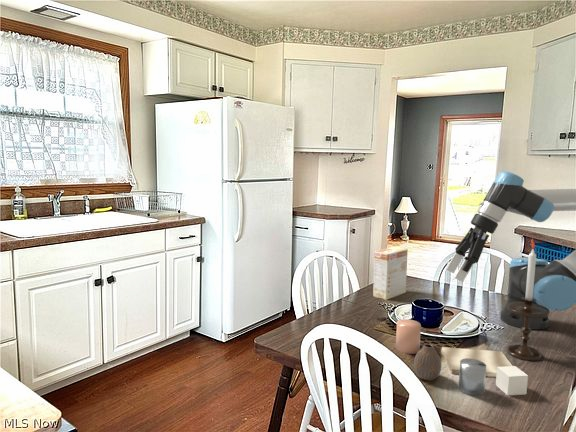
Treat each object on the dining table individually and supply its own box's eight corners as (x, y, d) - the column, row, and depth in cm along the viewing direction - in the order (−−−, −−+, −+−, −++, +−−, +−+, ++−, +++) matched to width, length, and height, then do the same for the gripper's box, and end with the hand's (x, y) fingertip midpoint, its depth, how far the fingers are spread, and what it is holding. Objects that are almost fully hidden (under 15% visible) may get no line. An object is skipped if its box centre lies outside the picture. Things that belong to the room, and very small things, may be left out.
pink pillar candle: (417, 344, 135) (419, 320, 134) (421, 354, 128) (422, 328, 127) (394, 343, 136) (395, 318, 135) (396, 352, 130) (398, 327, 128)
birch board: (501, 355, 128) (501, 351, 128) (518, 378, 115) (519, 374, 115) (441, 350, 131) (441, 347, 131) (451, 373, 117) (452, 369, 117)
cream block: (513, 384, 112) (515, 365, 112) (526, 394, 107) (528, 375, 107) (495, 385, 112) (497, 366, 111) (507, 395, 107) (509, 376, 106)
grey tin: (480, 385, 111) (482, 359, 111) (487, 397, 106) (489, 370, 105) (456, 383, 112) (457, 357, 111) (461, 395, 106) (463, 368, 106)
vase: (409, 371, 118) (411, 340, 117) (433, 370, 119) (435, 339, 118) (419, 384, 112) (420, 351, 110) (445, 383, 112) (447, 351, 111)
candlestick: (497, 345, 135) (506, 235, 130) (532, 346, 135) (542, 235, 130) (514, 362, 124) (524, 242, 119) (552, 363, 124) (564, 242, 119)
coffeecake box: (392, 289, 193) (394, 246, 190) (406, 292, 187) (408, 248, 185) (372, 296, 182) (373, 250, 180) (386, 300, 177) (388, 253, 175)
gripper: (467, 210, 151) (436, 263, 154) (487, 215, 126) (451, 277, 129) (487, 220, 150) (456, 273, 153) (511, 227, 125) (474, 290, 128)
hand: (453, 275), depth 141 cm, fingers open, 13 cm apart
